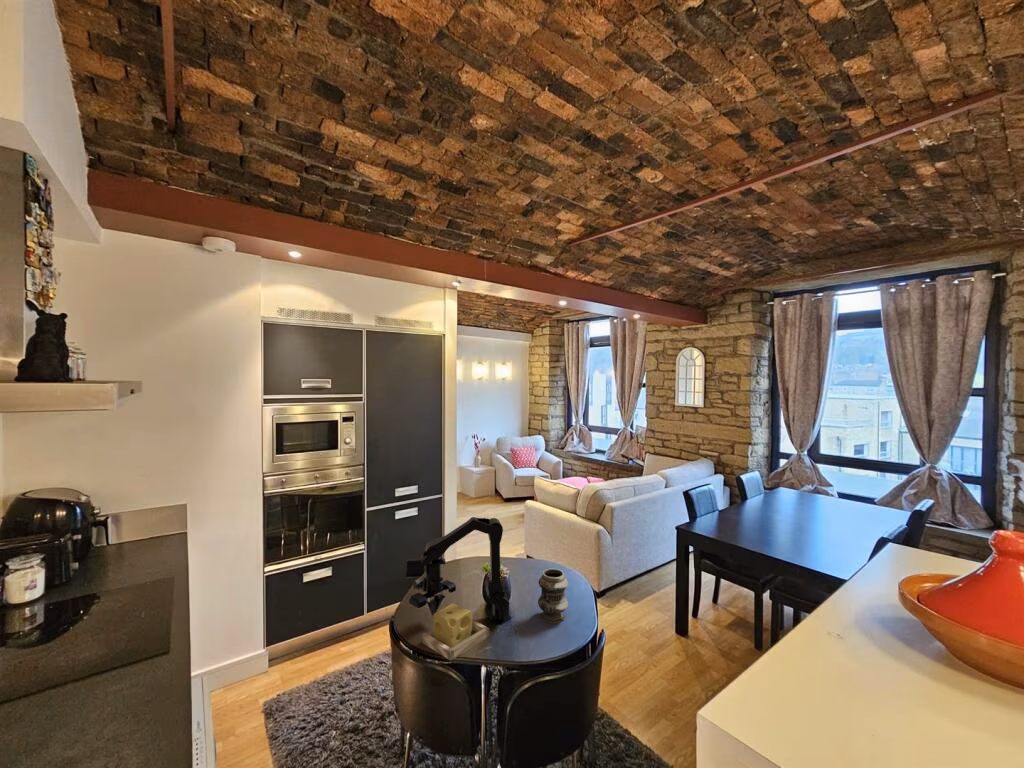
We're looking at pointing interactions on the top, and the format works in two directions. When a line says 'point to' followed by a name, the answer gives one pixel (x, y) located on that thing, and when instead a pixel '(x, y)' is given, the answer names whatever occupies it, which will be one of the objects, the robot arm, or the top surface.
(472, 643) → the square wooden tray
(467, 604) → the top surface
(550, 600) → the apothecary jar
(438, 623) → the cheese
